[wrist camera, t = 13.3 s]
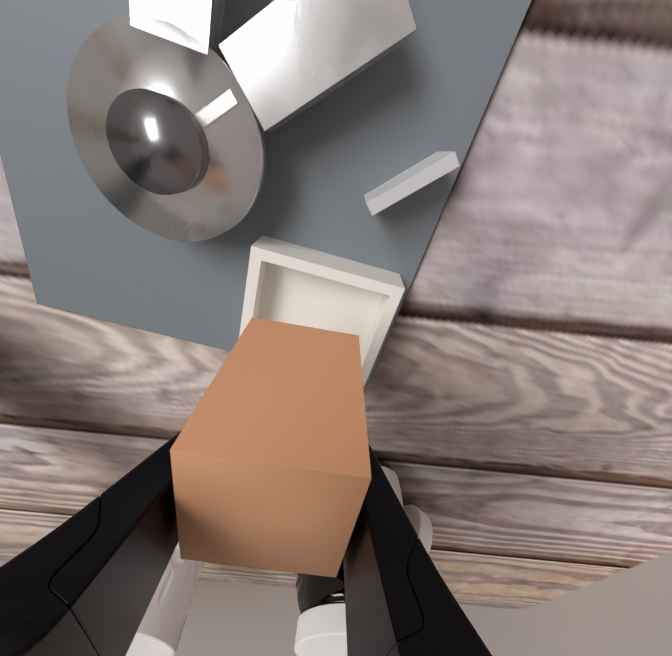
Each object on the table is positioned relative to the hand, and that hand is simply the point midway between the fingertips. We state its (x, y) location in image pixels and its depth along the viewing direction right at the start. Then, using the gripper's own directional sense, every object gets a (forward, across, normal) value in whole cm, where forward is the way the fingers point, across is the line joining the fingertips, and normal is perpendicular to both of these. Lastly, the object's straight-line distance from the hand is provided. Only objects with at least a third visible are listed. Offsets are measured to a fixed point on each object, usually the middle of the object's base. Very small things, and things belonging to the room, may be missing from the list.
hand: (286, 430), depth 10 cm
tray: (+11, 0, +1) cm, 11 cm away
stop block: (+3, 0, 0) cm, 3 cm away
